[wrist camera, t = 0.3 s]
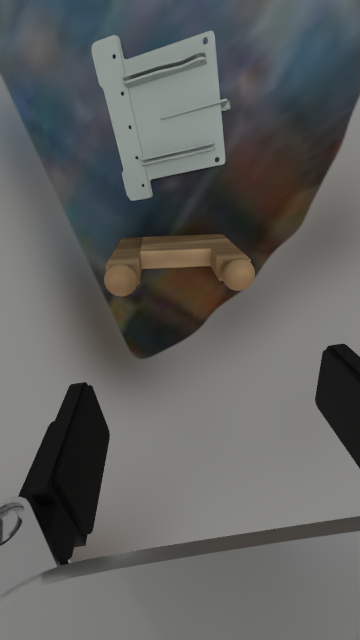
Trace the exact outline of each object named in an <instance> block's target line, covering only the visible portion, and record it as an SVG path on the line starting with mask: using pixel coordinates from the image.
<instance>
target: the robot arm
mask: <svg viewBox="0 0 360 640" xmlns="http://www.w3.org/2000/svg"><path fill="white" fill-rule="evenodd" d="M315 401H316V405H317V407H318V409H319V410H320V412H321V413H322V414H323V416H324V417H325V419H326V420H327V421H328V423H329V424H330V426H331V428H332V429H333V430H334V432H335V433H336V435H337V436H338V438H339V439H340V441H341V442H342V443H343V445H344V446H345V447H346V449H347V451H348V452H349V453H350V455H351V456H352V458H353V459H354V461H355V462H356V464H357V465H358V466H359V468H360V357H359V356H358V355H357V354H356V353H355V352H354V351H352V350H351V349H350V348H349V347H348V346H347V345H345V344H338V345H331V346H328V347H327V349H326V350H324V351H323V354H322V360H321V366H320V372H319V379H318V385H317V391H316V397H315ZM109 436H110V435H109V429H108V426H107V424H106V421H105V419H104V416H103V413H102V411H101V408H100V405H99V403H98V400H97V397H96V395H95V392H94V390H93V387H92V386H91V385H89V386H88V385H87V383H85V382H84V383H77V384H71V385H70V386H69V389H68V391H67V393H66V396H65V398H64V400H63V403H62V405H61V408H60V410H59V413H58V415H57V417H56V419H55V421H53V422H52V423H51V424H50V425H49V427H48V429H47V431H46V434H45V436H44V438H43V440H42V443H41V446H40V448H39V450H38V452H37V454H36V457H35V459H34V461H33V464H32V466H31V468H30V470H29V473H28V475H27V478H26V480H25V482H24V484H23V487H22V489H21V491H20V494H19V496H18V497H12V498H9V499H7V500H4V501H3V502H1V503H0V640H360V516H357V517H350V518H344V519H337V520H330V521H323V522H317V523H310V524H303V525H297V526H290V527H283V528H277V529H271V530H264V531H258V532H251V533H245V534H238V535H231V536H225V537H218V538H212V539H206V540H199V541H193V542H187V543H181V544H174V545H168V546H161V547H155V548H149V549H143V550H136V551H131V552H125V553H120V554H115V555H108V556H103V557H97V558H92V559H87V560H82V561H78V562H74V563H71V562H70V560H69V559H70V558H71V557H72V553H73V549H74V547H79V546H85V544H86V539H87V534H90V533H91V532H92V530H93V527H94V521H95V516H96V510H97V504H98V499H99V493H100V488H101V482H102V477H103V471H104V466H105V460H106V454H107V449H108V444H109Z"/></svg>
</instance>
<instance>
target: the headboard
mask: <svg viewBox="0 0 360 640" xmlns="http://www.w3.org/2000/svg"><path fill="white" fill-rule="evenodd" d="M250 262H251V259H249V258H248V257H247V256H246V255H245V254H244V253H243V252H242V251H241V250H239V249H238V248H237V247H236V246H235V245H234V244H233V243H232V242H231V241H229V240H228V239H227V238H226V237H225V236H224V235H223V234H209V235H183V236H157V237H130V238H121V239H120V241H119V243H118V245H117V247H116V248H115V250H114V252H113V254H112V255H111V257H110V259H109V261H108V262H107V264H106V266H105V267H106V273H105V277H104V282H105V286H106V288H107V289H108V290H109V292H111V293H112V294H114V295H116V296H127V295H129V294H131V293H132V292H133V291H134V290H135V288H136V286H137V285H138V284H139V283H140V277H141V271H142V269H150V268H173V267H195V266H211V267H212V269H213V271H214V272H215V274H216V276H217V277H218V279H219V281H221V280H223V281H224V283H225V284H226V286H227V287H229V288H230V289H232V290H243V289H246V288H247V287H249V286H250V285H251V283H252V282H253V280H254V276H255V271H254V268H253V266H252V264H251V263H250Z"/></svg>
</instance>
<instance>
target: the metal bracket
mask: <svg viewBox="0 0 360 640" xmlns="http://www.w3.org/2000/svg"><path fill="white" fill-rule="evenodd" d="M204 38H207V39H208V43H207V44H206V45H204V44H203V39H204ZM91 53H92V57H93V61H94V65H95V69H96V73H97V77H98V81H99V85H100V86H101V87H102V88H103V90H104V94H105V98H106V102H107V106H108V110H109V114H110V118H111V122H112V126H113V130H114V134H115V138H116V142H117V146H118V150H119V154H120V158H121V162H122V166H123V172H122V177H123V181H124V185H125V189H126V193H127V196H128V197H129V199H130V200H131V201H135V200H141V199H146V198H151V197H152V196H153V193H152V188H151V183H150V181H151V180H152V179H155V178H160V177H165V176H169V175H174V174H179V173H184V172H189V171H193V170H198V169H203V168H208V167H213V166H217V165H222V164H224V163H225V149H224V138H223V126H222V115H221V111H227V110H228V109H229V110H230V101H228V102H229V103H228V102H227V99H222V100H220V92H219V80H218V69H217V57H216V46H215V35H214V32H213V31H208V32H205V33H202V34H199V35H196V36H193V37H191V38H188V39H185V40H182V41H179V42H176V43H173V44H170V45H167V46H165V47H162V48H159V49H156V50H153V51H150V52H147V53H144V54H141V55H139V56H136V57H133V58H130V59H125V58H124V56H123V51H122V46H121V42H120V38H119V37H118V36H117V35H112V36H110V37H107V38H104V39H102V40H99V41H96V42H94V43H93V45H92V52H91ZM113 55H116V58H115V59H113ZM122 92H124V95H123V96H122V95H121V93H122ZM130 125H131V129H129V126H130ZM136 156H138V159H136ZM216 157H219V162H215V158H216ZM142 184H144V187H142Z"/></svg>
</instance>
